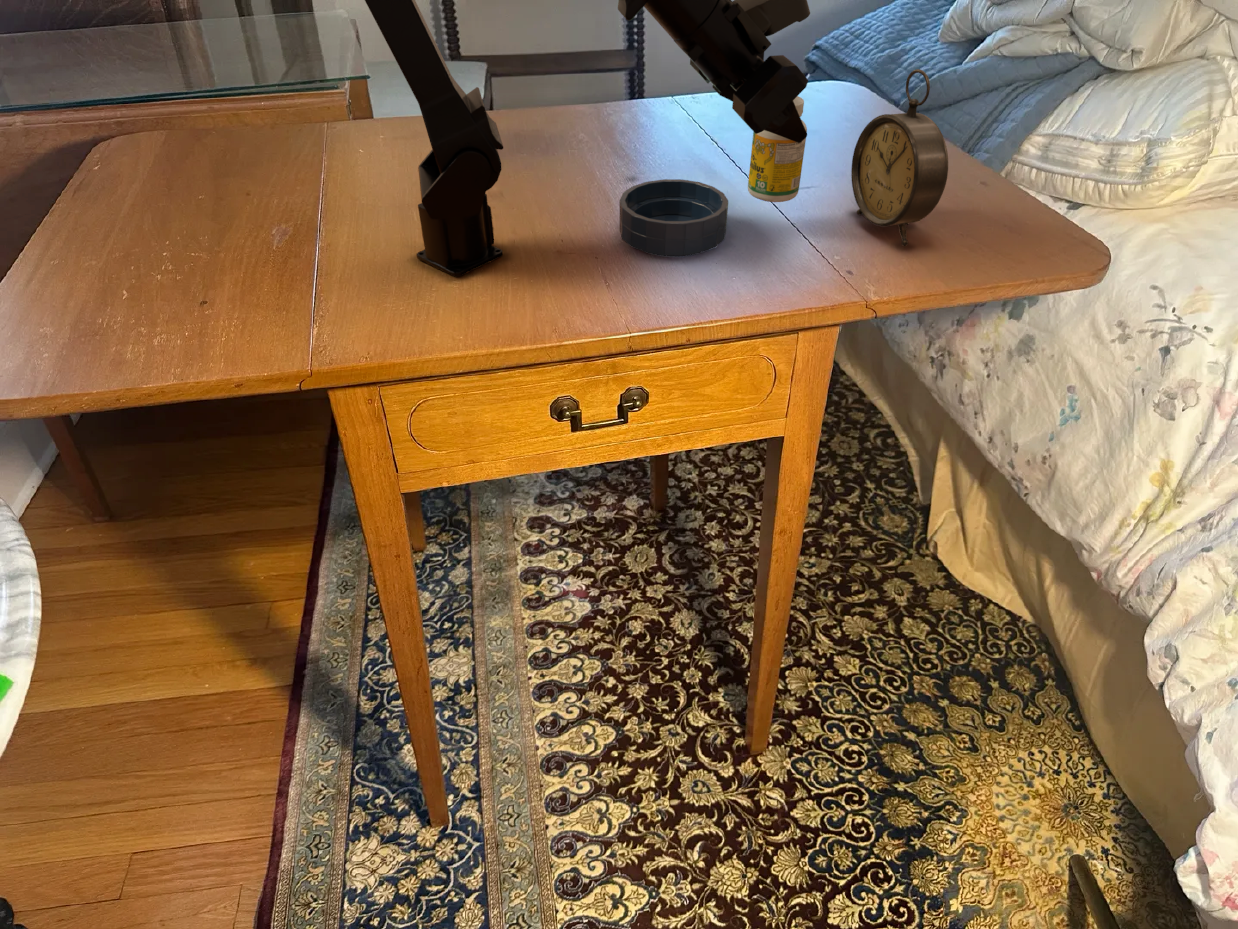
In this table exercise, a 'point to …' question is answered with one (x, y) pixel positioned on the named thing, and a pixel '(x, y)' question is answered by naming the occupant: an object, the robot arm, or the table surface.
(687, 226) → the dark gray round dish
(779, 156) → the supplement bottle
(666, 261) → the table surface
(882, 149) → the alarm clock
